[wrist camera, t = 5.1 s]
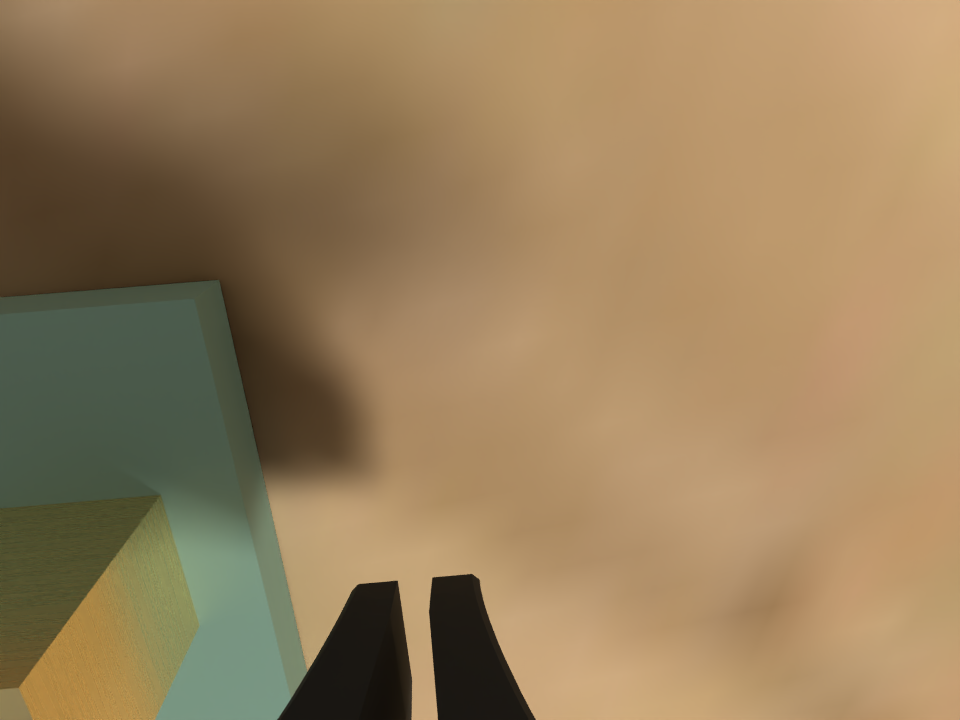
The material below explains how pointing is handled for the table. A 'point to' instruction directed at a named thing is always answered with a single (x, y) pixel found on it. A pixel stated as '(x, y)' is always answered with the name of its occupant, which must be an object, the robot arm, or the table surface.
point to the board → (158, 466)
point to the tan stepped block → (90, 610)
